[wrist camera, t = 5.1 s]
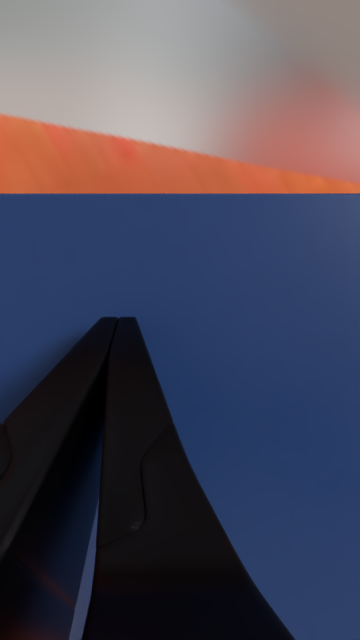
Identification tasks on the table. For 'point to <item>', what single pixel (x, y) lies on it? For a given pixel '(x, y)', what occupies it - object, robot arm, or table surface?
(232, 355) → the lid
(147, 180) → the table surface
